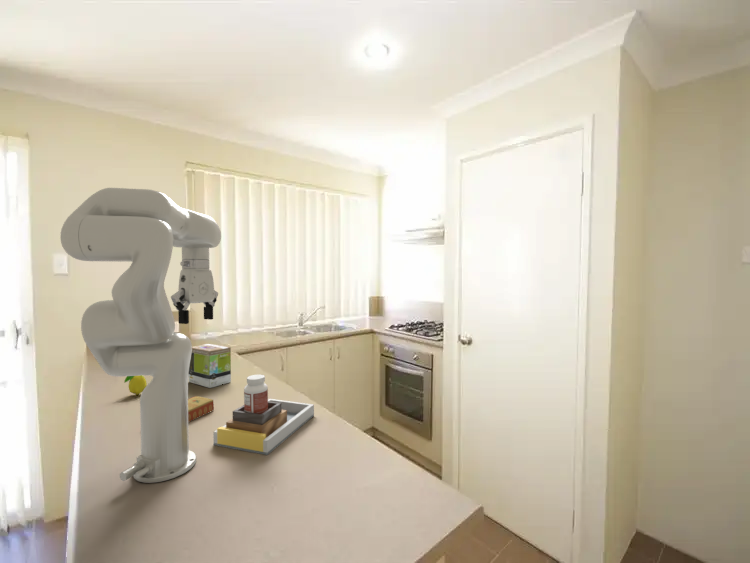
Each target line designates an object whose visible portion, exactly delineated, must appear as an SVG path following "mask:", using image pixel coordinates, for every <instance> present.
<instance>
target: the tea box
mask: <svg viewBox="0 0 750 563" xmlns="http://www.w3.org/2000/svg"><path fill="white" fill-rule="evenodd" d="M231 349H232V348H231V346H226V345H220V344H214V343H204V344H201V345H195V346H194V345H192V354H191V360H190V366H189V374H188V383H192V384H194V385H198V386H202V387H205V388H208V389H211V388H216V387H219V386H222V384H223V385H226V384H229V383H231V382H232V371H231V369H232V366H231V365H232V361H231V360H232V358H231V356H232V353H231V352H232V351H231Z"/></svg>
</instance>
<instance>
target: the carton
mask: <svg viewBox="0 0 750 563" xmlns="http://www.w3.org/2000/svg"><path fill="white" fill-rule="evenodd" d="M214 403H215V402H214V399H212V398H208V397H203V396H199V395H195V396H193V397H190V398H189V397H188V423H190V422H192V421H194V420H196V419H195V418H197V417H199V416H201V417H203V416H204V415H203V414H205V415H207V414H206V413H208V412H210V411H212V410H214V409H215V407H214V405H215V404H214ZM214 411H215V410H214ZM212 412H213V411H212ZM210 413H211V412H210ZM208 414H209V413H208ZM202 415H203V416H202ZM199 418H200V417H199ZM193 419H194V420H193ZM197 419H198V418H197ZM191 420H192V421H191ZM189 421H190V422H189Z"/></svg>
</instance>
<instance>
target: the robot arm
mask: <svg viewBox="0 0 750 563" xmlns="http://www.w3.org/2000/svg"><path fill="white" fill-rule="evenodd" d="M59 239H60V244H61V246H62V248H63V250H64V251H65V252H66V254H67V255H68V256H70V257H72V258H73V259H75V260H79V261H84V262H120V263H121V262H125V263H126V262H128V263H129V262H131V263H130V266H129V267H128V268H127V269H126V270H125V271H124V272H122V274H121V275H120V276H119V277H118V278H117V280H116V281H115V283H114V284H113V285H112V288H111V297H112V299H110V300H109V299H108V300H100V301H97V302H94V303H92V304H91V305H89V306H88V307H87V308H86V309H85V311H84V312H83V314H82V317H81V321H80V326H81V327H80V329H81V330H80V331H81V335H82V339H83V341H84V343H85V345H86V347H87V348H88V350H89V352H90V353H91V354H92V356H93V357H94V359H95V361H96V362H97V363H98V365H99V366H100V368H101V369H102V371H104V373H105V374H107V375H108V376H112V377H120V378H121V377H127V376H140V375H142V376H144V377H145V376H148V375H149V377H150V376H152V379H150V380H151V381H150V382H149V383H147V386H146V387H145V389H144V390H143V392H141V393H140V398H139V407H140V408H139V409H140V411H139V412H140V417H139V418H140V455H138V456H136V462H135V463H133V464H132V466H130V467H128V468H127V469H125V470H123V471H120V473H119V479H120V480H121V481H123V482H125V481H126V480H128V479H130V478H132V477H133V479H134V480H135V481H137V482H140V483H147V484H148V483H149V484H151V483H152V484H153V483H160V482H161V483H162V482H165V481H170V480H172V479H174V478H177V477H180V476H181V475H183V474H185V473H186V472H188V471H190V470H192V468H193V467H194V466H195V464H196V462H197V454H196V453H195V452H194V451H192V450H190V449H189V448H190V447H189V445H190V444H189V442H190V441H189V422H188V399H189V377H188V375H189V366H190V360H191V354H192V347H193V345H192V340H191V339H190V338H189V337H188V336H187V335H186V334H184V333H182V332H175V329H176V324H175V317H174V313H173V311H172V310H173V309H172V307H171V304H170V302H169V298H168V295H167V293H166V289H165V280H166V276H167V273H168V269H169V267H170V263H171V258H172V253H173V248H181V261H180V262H179V263H180V266H181V270H180V272H179V279H178V288H177V289H178V291H176V292H175V293H172V295H171V296H170V300H171V302H172V305H173V306H174V307H175V309H176V310H177V311H178V324H180V325H188V324H189V323H190V314H189V313H190V312H189V311H190V310H188V309H189V306H190V304H201V303H203V305H204V306H203V319H204V320H213V319H214V307H215V306H216V302H217V301H218V300H217V298H218V296H219V292H218V291H216V290H215V285H214V284H215V283H214V276H213V271H212V270H211V269H210V249H213V248H216V247H218V246H219V245H220V244H221V240H222V232H221V228H220V225H219V224H218V223H217V220H215V219H214V218H213V217H211V216H209V215H207V214H204V213H200V212H196V211H193V210H190V209H186V208H183V207H181V206H179V205H178V204H177V203H176V202H175V201H173V200H172V199H171V198H170V197H168V195H166V194H165V193H164V192H161V191H158V190H153V189H148V188H147V189H146V188H124V187H105V188H103V189H99V190H98V191H96V192H95V193H93V194H92V195H90V196H89V197H88V198H87V199H86V200H84V201H83V202H82V203H81V204H80V205H79V206H78V207H77V208H76V209H74V211H73V212H72V213H70V215H69V216H67V218H66V219H65V221H64V222H63V224H62V227H61V230H60V238H59Z"/></svg>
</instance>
